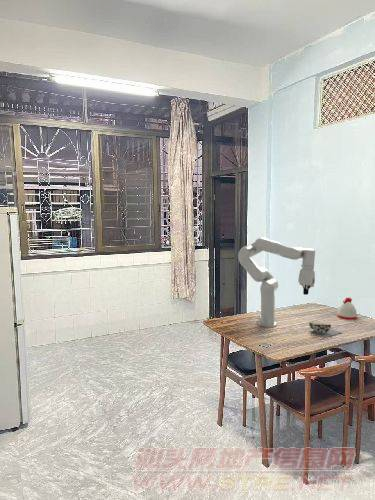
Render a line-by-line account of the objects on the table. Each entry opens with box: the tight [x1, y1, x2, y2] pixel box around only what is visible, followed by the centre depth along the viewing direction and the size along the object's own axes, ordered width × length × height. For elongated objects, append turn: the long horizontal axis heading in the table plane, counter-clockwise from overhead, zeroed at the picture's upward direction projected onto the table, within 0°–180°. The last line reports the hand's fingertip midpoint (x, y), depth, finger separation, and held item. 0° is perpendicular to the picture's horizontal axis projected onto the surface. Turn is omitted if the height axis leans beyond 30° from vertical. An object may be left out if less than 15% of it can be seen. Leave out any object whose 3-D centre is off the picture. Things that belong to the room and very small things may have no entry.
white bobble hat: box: [336, 297, 358, 320], centre depth 277 cm, size 14×14×15 cm
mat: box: [310, 328, 343, 339], centre depth 241 cm, size 12×16×1 cm
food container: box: [308, 322, 332, 334], centre depth 241 cm, size 12×6×10 cm
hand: (305, 294), depth 245 cm, fingers closed
